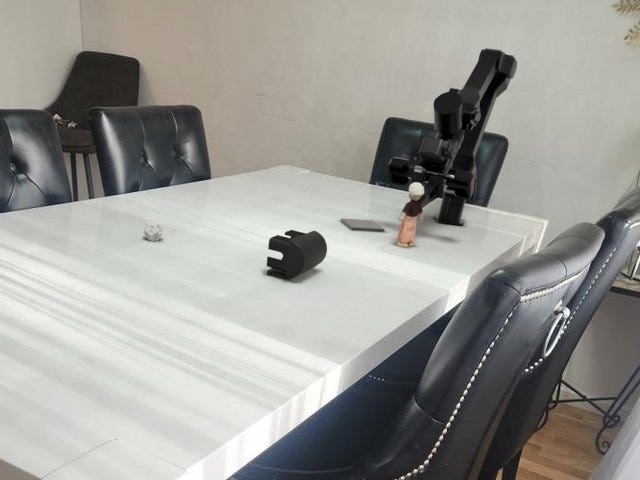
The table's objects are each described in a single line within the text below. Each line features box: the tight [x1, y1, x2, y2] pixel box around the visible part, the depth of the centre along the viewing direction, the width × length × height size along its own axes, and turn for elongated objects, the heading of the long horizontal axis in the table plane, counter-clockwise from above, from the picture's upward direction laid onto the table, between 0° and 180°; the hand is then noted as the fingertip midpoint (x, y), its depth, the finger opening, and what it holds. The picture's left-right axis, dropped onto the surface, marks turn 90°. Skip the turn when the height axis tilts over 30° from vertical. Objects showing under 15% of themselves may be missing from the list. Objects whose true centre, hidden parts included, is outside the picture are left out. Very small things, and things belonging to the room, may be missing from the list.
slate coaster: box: [340, 218, 386, 233], centre depth 151 cm, size 8×8×1 cm
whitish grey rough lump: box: [143, 221, 164, 242], centre depth 121 cm, size 4×4×3 cm
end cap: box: [266, 229, 328, 281], centre depth 113 cm, size 10×7×7 cm
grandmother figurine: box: [395, 182, 424, 248], centre depth 137 cm, size 8×4×13 cm, turn 144°
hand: (415, 210), depth 139 cm, fingers closed
